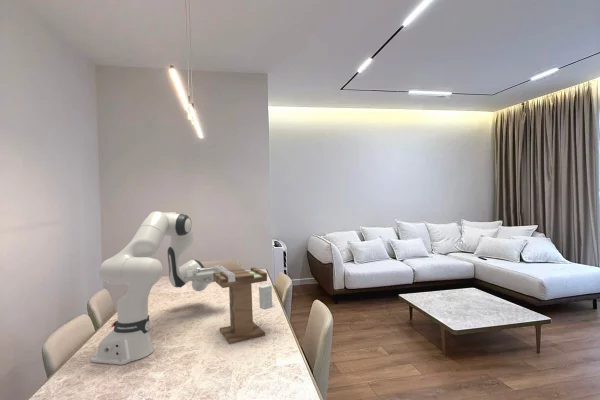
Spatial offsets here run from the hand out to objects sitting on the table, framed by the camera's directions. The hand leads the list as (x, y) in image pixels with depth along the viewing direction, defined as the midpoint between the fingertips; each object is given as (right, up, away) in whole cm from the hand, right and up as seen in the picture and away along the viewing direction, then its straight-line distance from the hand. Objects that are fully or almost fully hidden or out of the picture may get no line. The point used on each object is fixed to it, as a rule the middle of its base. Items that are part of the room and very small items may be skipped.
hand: (207, 268), depth 173 cm
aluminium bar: (+13, 0, -19) cm, 23 cm away
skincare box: (+28, -25, +16) cm, 41 cm away
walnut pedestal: (+21, -25, -20) cm, 39 cm away
